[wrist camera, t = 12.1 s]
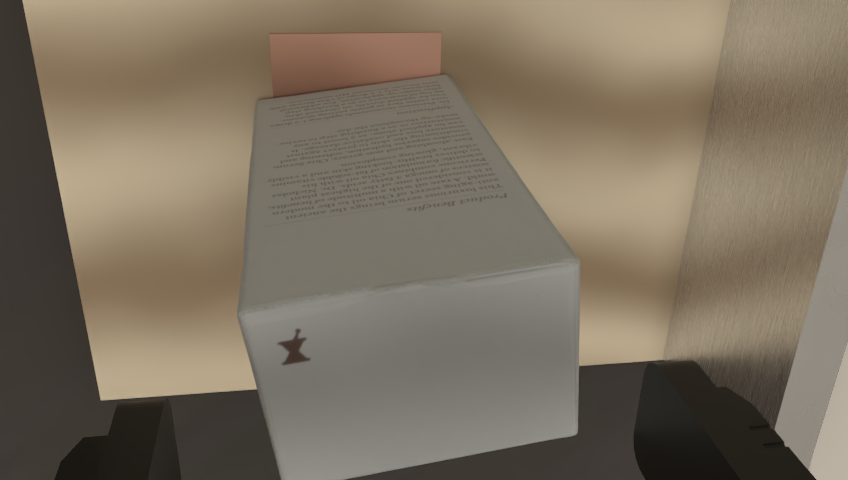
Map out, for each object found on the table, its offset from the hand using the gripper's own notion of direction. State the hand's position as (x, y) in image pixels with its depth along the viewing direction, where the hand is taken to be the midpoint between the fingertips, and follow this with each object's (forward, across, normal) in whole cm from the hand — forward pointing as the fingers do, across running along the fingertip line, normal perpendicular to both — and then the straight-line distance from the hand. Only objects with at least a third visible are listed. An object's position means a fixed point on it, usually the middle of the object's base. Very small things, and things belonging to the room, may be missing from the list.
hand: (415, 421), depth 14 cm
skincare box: (+13, 0, 0) cm, 13 cm away
